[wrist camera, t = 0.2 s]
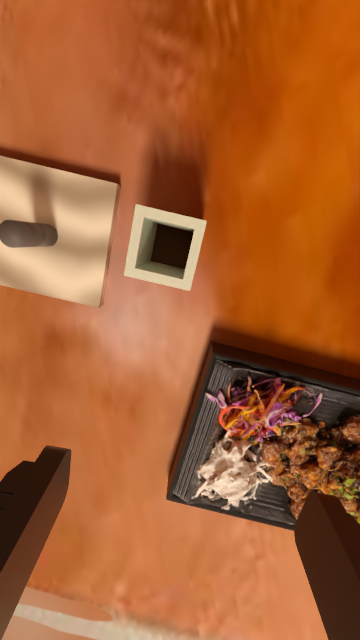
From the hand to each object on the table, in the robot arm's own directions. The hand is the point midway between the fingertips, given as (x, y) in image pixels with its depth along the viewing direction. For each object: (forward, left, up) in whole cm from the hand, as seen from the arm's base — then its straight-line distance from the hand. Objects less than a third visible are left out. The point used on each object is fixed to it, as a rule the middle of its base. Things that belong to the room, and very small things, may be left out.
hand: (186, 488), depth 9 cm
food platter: (+18, +26, -30) cm, 43 cm away
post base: (-4, -19, -29) cm, 35 cm away
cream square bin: (-6, -4, -29) cm, 30 cm away
